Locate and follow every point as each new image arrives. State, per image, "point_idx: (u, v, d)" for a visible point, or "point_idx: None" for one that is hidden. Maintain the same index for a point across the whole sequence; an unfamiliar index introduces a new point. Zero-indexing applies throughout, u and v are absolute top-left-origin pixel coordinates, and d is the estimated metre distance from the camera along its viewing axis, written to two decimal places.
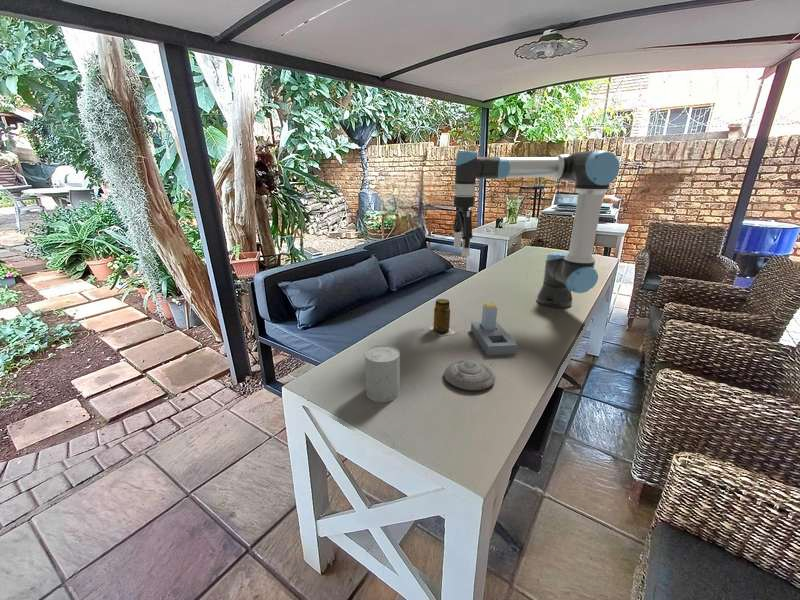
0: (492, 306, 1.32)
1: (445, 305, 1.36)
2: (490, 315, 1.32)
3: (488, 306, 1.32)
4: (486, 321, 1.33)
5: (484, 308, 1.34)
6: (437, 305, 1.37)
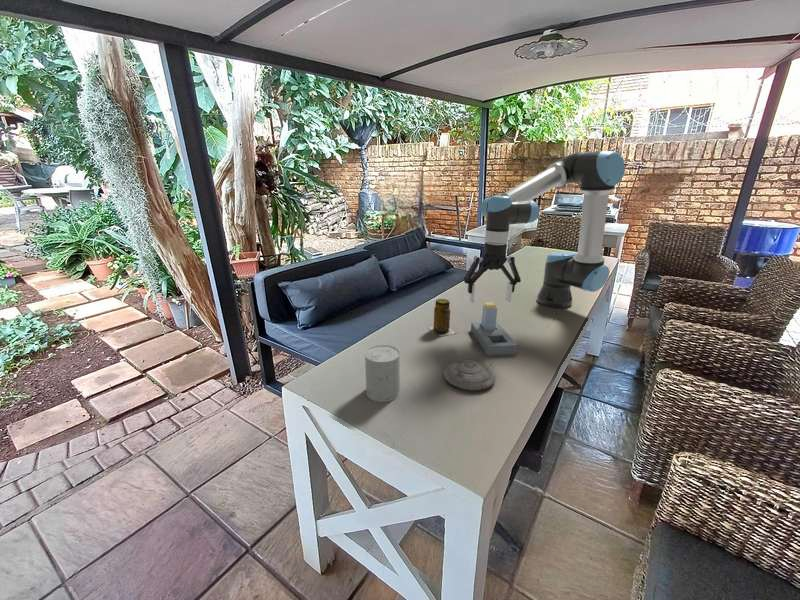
0: (492, 306, 1.32)
1: (445, 305, 1.36)
2: (490, 315, 1.32)
3: (488, 306, 1.32)
4: (486, 321, 1.33)
5: (484, 308, 1.34)
6: (437, 305, 1.37)
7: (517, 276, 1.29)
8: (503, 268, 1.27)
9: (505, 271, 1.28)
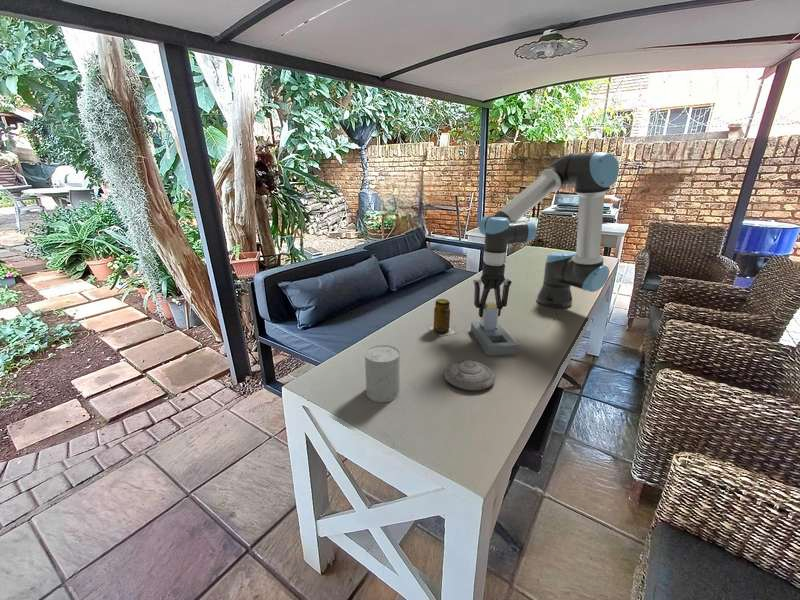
0: (492, 306, 1.32)
1: (445, 305, 1.36)
2: (490, 315, 1.32)
3: (488, 306, 1.32)
4: (486, 321, 1.33)
5: None
6: (437, 305, 1.37)
7: (505, 300, 1.32)
8: (498, 289, 1.30)
9: (498, 293, 1.31)
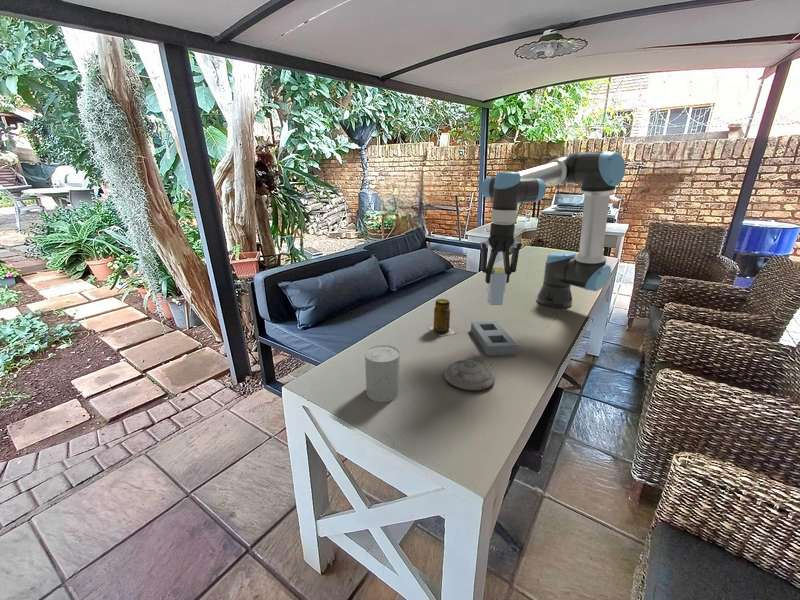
0: (500, 271, 1.22)
1: (445, 305, 1.36)
2: (497, 280, 1.22)
3: (496, 271, 1.22)
4: (493, 288, 1.23)
5: None
6: (437, 305, 1.37)
7: (514, 265, 1.22)
8: (507, 252, 1.19)
9: (506, 256, 1.20)
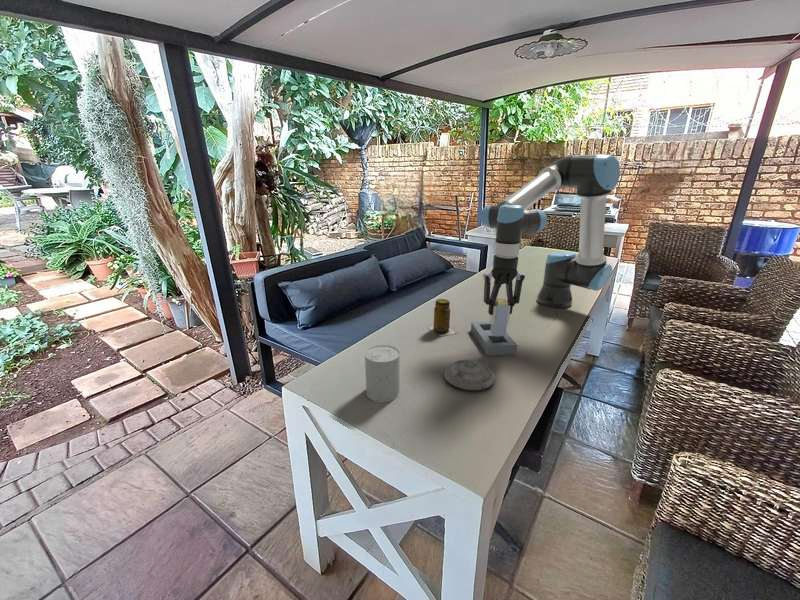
0: (503, 303, 1.21)
1: (445, 305, 1.36)
2: (501, 312, 1.21)
3: (499, 303, 1.20)
4: (497, 319, 1.22)
5: None
6: (437, 305, 1.37)
7: (518, 296, 1.21)
8: (510, 284, 1.18)
9: (510, 288, 1.19)
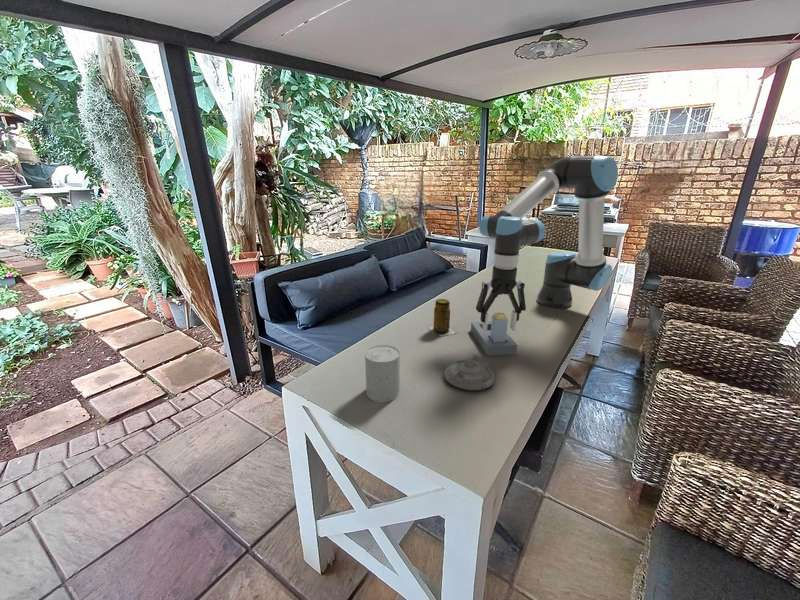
0: (502, 317, 1.22)
1: (445, 305, 1.36)
2: (499, 326, 1.23)
3: (498, 317, 1.22)
4: (495, 333, 1.24)
5: (493, 319, 1.24)
6: (437, 305, 1.37)
7: (523, 304, 1.22)
8: (511, 294, 1.20)
9: (512, 297, 1.21)
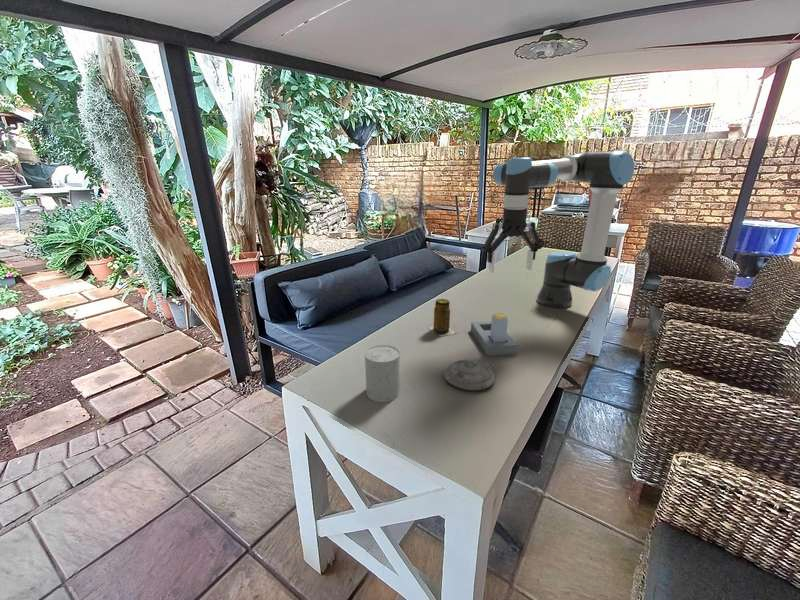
0: (502, 317, 1.22)
1: (445, 305, 1.36)
2: (499, 326, 1.23)
3: (498, 317, 1.22)
4: (495, 333, 1.24)
5: (493, 319, 1.24)
6: (437, 305, 1.37)
7: (538, 242, 1.24)
8: (524, 234, 1.22)
9: (526, 238, 1.23)
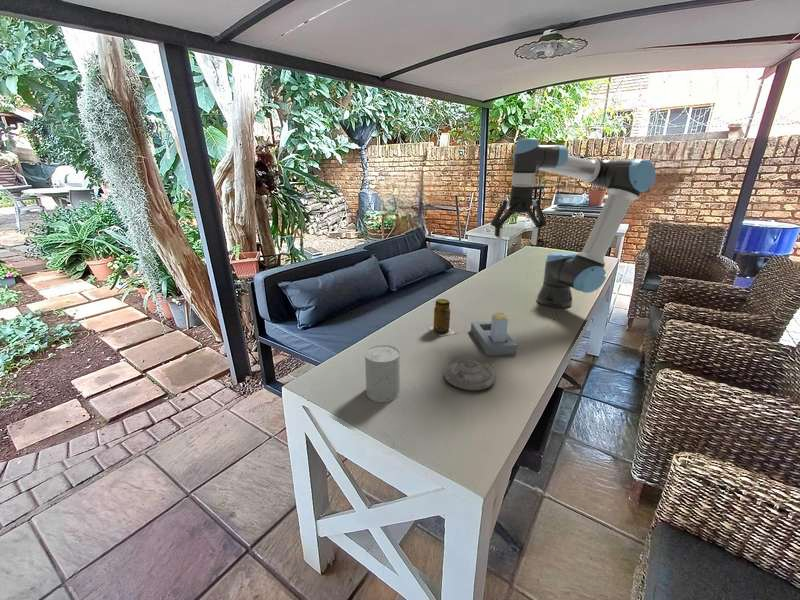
0: (502, 317, 1.22)
1: (445, 305, 1.36)
2: (499, 326, 1.23)
3: (498, 317, 1.22)
4: (495, 333, 1.24)
5: (493, 319, 1.24)
6: (437, 305, 1.37)
7: (542, 219, 1.34)
8: (529, 211, 1.32)
9: (531, 214, 1.33)
